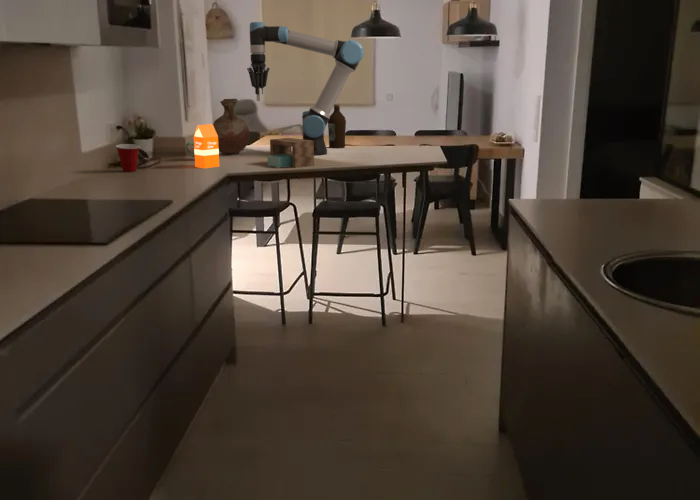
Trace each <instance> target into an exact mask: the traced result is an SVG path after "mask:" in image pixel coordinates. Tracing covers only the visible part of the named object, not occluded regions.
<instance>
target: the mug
mask: <svg viewBox="0 0 700 500" xmlns="http://www.w3.org/2000/svg"><path fill="white" fill-rule="evenodd" d="M184 145H185V151H186V153H188V155H190V156H191V157H192V158H194V159H195V154H193V153H192V152H191V151H190V150H189V146H194V141H192V142H191V141H190V142H186V144H184Z"/></svg>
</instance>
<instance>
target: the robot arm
mask: <svg viewBox="0 0 700 500" xmlns="http://www.w3.org/2000/svg"><path fill="white" fill-rule="evenodd" d="M288 28H289V27H288V26H283V25H279V26H277V25H276V26H274V25H273V26H266V25H265V23H264V22H262V21H252V22H250V23H249V44H250V45H249V48H250V51H249V52H250V63H251V64H250V66H249V67H247V71H248V75H249V80H250V84H251V87H253V88H254V89H255V90H254V91H255V95H256V101H257V102H262V101H263V94H264V89H265V87H267V82H268V75H269V71H270V67H267V66H266V42H267V43H268V42H269V43H272V42H273V43H276V44H282V45H287V46H290V47H295V48H298V49H303V50H307V51H312V52H315V53H318V54H324V55H327V56H330V57H332V58H333V59H334V62H335V65H334V67H333V69H332V71H331V74H330V76H329V77H328V79H327V81H326V83H325V85H324V87H323V89H322V91H321V93H320V95H319V96H318V99H317V100H316V103H315V104H314V106H312V107H310V108H309V110H308V111H307V110H305V111H303V112H302V116H301V120H302V124H301V126H302V127H301V129H302V139H304V140H312V141H314V156H322V155H327V154H328V149H327V145H326V143H325V136H324V135H325V129H326V128H327V127H326V126H328V121H329V119H330V113H331V111H332V109H333V108H334V105H335V103H336V102H337V99H338V98H339V95H340V94H341V92H342V90H343V88H344V86H345V84H346V82H347V80H348V78H349V76H350V74H351V73H353V72H355V71H356V69H357V68H358V65H359V63H360V62H361V61H362V60H363V57H364V55H365V54H364V52H365V51H364V48H363V44H361V43H360V42H359V41H357V40H353V39H350V40H339V39H337V40H335V41H334V40H331V39H327V38H321V37H317V36H314V35H311V34H306V33H301V32H298V31H295V30H294V31H292V30H289V29H288Z"/></svg>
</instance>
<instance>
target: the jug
mask: <svg viewBox="0 0 700 500" xmlns="http://www.w3.org/2000/svg"><path fill="white" fill-rule="evenodd" d="M237 103H238V98H224V99H222V100H221V101H220V104H221V105H222V107H223V109H224V110H223V114H222V115H221V116H219V117H218V118H216V119H215V120H214V122H213V126H214V129H215V131H216V133H217V135H218V148H219V153H221V154H222V155H224V156H233V155H237V154H240V152H242V151H243V150H244V149H245V148H246V147H247V146H248V144H249V142H250V139H251V132H250V129H249V127H248V125H247V123H246V121H245V120H244V119H243V118H241V117H240V116H238V115H236V114H235V110H234V108H235V106H236V105H237Z"/></svg>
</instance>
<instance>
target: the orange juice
mask: <svg viewBox="0 0 700 500" xmlns="http://www.w3.org/2000/svg"><path fill="white" fill-rule="evenodd" d="M193 143H194V145H193V149H194V151H193V152H194V154H193V155H195V158H194V165H195V168H200V169H208V168H218V167H220V151H219V148H218V135H217V133H216V131H215V129H214V126H213V124H211V123H210V124H197V126H196V128H195V132H194V135H193Z"/></svg>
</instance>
